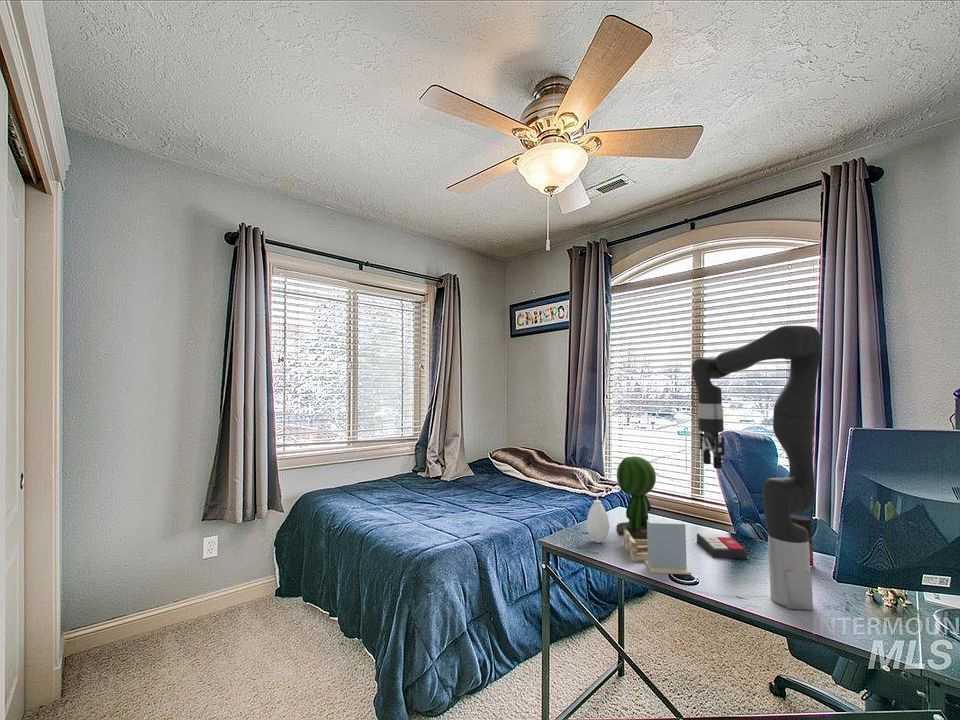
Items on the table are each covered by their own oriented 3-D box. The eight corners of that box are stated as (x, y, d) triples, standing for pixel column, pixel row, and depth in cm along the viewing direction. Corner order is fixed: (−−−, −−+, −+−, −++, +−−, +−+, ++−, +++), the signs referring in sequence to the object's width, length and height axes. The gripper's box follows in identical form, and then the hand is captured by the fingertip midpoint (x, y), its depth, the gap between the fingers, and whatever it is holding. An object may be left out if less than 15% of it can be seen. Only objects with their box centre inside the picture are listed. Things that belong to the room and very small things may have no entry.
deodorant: (798, 559, 150) (796, 514, 151) (817, 565, 145) (815, 519, 146) (787, 561, 148) (785, 516, 149) (806, 568, 142) (803, 521, 143)
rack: (684, 563, 147) (683, 544, 148) (633, 561, 149) (632, 543, 149) (670, 547, 162) (669, 530, 162) (623, 545, 164) (623, 529, 164)
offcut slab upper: (663, 546, 155) (660, 544, 157) (639, 547, 154) (636, 545, 156) (664, 555, 155) (660, 553, 157) (639, 556, 154) (636, 554, 156)
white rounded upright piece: (598, 547, 162) (597, 497, 163) (583, 540, 169) (582, 492, 170) (613, 543, 166) (612, 494, 167) (598, 537, 173) (597, 490, 174)
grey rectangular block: (686, 569, 141) (685, 524, 142) (650, 567, 142) (649, 523, 143) (682, 564, 145) (681, 520, 146) (647, 563, 146) (646, 519, 147)
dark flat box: (713, 547, 152) (696, 531, 167) (713, 560, 152) (696, 542, 167) (747, 548, 151) (727, 532, 166) (747, 561, 151) (727, 543, 166)
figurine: (625, 522, 191) (623, 452, 193) (672, 532, 178) (670, 457, 180) (606, 532, 179) (604, 456, 181) (655, 543, 165) (652, 462, 167)
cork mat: (691, 574, 139) (691, 572, 139) (651, 572, 140) (651, 570, 140) (681, 563, 147) (681, 561, 148) (644, 561, 149) (644, 559, 149)
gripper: (731, 418, 141) (733, 470, 140) (713, 415, 155) (715, 462, 154) (707, 418, 142) (708, 470, 141) (691, 415, 156) (692, 462, 155)
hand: (712, 466), depth 148 cm, fingers open, 8 cm apart
